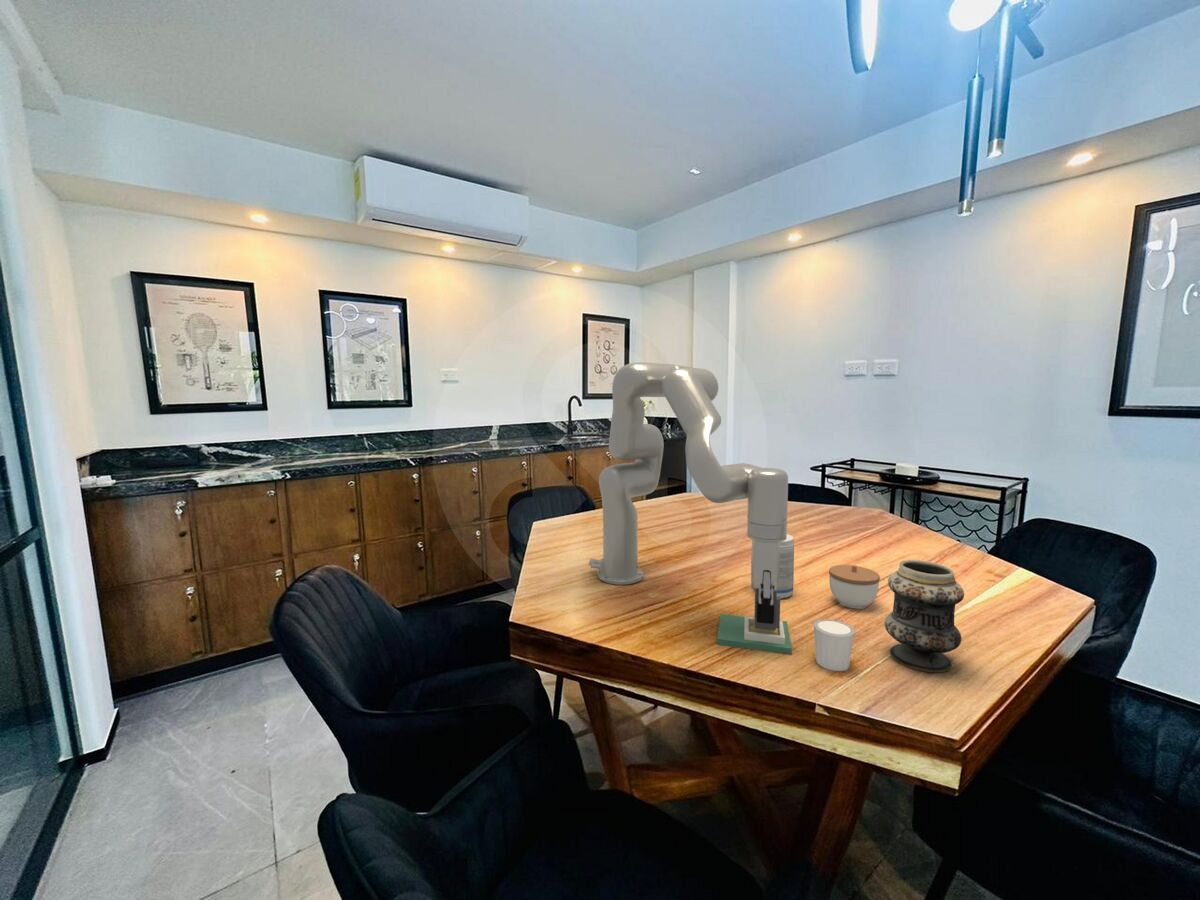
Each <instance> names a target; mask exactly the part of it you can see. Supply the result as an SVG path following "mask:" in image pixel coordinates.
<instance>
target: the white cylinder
mask: <svg viewBox="0 0 1200 900" xmlns="http://www.w3.org/2000/svg"><path fill="white" fill-rule="evenodd" d="M813 634H814V652H815V662H816V663H817V664H818V665H819V666H820V667H821V668H824V669H827V670H830V671H834V672H843V671H847V670H849V668H850V665H851V664H850V663H851V656H852V650H853V643H854V638H855V628H853V627H852V625H849V624H847V623H845V622H842V621H840V620H836V619H827V618H826V619H825V618H823V619H819V620H818V619H817V620H816V621H814V623H813Z"/></svg>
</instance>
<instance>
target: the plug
mask: <svg viewBox="0 0 1200 900" xmlns="http://www.w3.org/2000/svg"><path fill="white" fill-rule="evenodd" d="M761 588H763V585H761ZM770 588H771V586H770ZM762 594H763V592H762ZM762 594H761V595H762ZM776 595H777V591H774V592H773V604H774V623H773V624H767V623H759V622H757V602H759V588H758V589H756V588H755V590H754V623H755V628H757V629H765V630H774V631H776V628H778V629H780V621H781V617H780V616H781V599H780V596H776Z"/></svg>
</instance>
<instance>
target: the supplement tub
mask: <svg viewBox="0 0 1200 900" xmlns="http://www.w3.org/2000/svg"><path fill="white" fill-rule="evenodd" d="M794 540H795V539H794V536H792V535H791V534H788V533H787V539H786V540H785V541H781V542H780V561H779V577H778V587H777V590H776V591H777V595H776V596H780V600H781V599H786V598H789V597H791V596H792V595H793V593H794V580H795V579H794V573H795V571H794V570H795V569H794V568H795V544H794V542H795V541H794Z"/></svg>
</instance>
